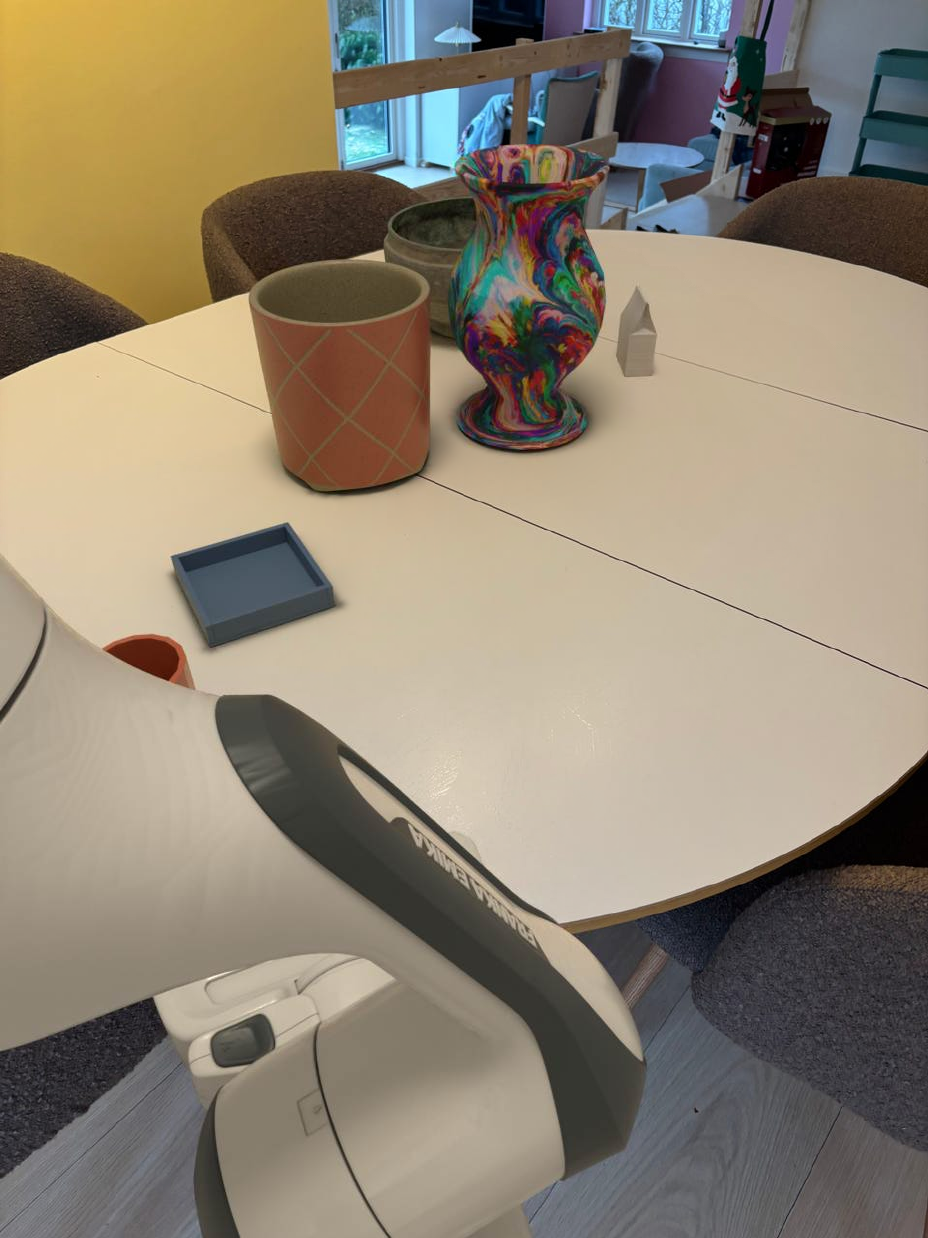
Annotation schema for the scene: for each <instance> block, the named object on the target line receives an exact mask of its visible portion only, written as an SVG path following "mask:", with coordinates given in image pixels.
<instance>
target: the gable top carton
mask: <svg viewBox="0 0 928 1238" xmlns="http://www.w3.org/2000/svg"><path fill="white" fill-rule="evenodd" d="M657 339H658V333H657V330H656V327H655V324H654V322H653V319H652V316H651V311H650V304H649V302H648V300H647V298H646V296H645V294H644V292H643V290H642V288H641V287H640V286H638V285H636V286H635V288H634V291H633V292H632V295H631V296H630V299H629V300H628V302H627V304H626V305H625V307H624V309H623V310H622V312H621V314H620V318H619V326H618V337H617V343H616V344H617V346H616V355H615V356H616V359H617V362H618V364H619V366H620V368H621V371H622V374H623V376H624V377H625V378H626V377H651V376H652V375H653V367H654V361H655V360H654V359H655V352H656V345H657Z"/></svg>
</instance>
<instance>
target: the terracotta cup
mask: <svg viewBox="0 0 928 1238" xmlns="http://www.w3.org/2000/svg"><path fill="white" fill-rule="evenodd" d="M101 649H103V650H104V651H106V652H107V653H109V654H111V655H112V656H114V657H116V658H118V659H120V660H121V661H123V662H125V663H127V664H129V665H131V666H133V667H135V668H137V669H140V670H142V671H144V672H146V673H148V674H151V675H153V676H156V677H158V678H161V679H164V680H166V681H169V682H172V683H174V684H177V685H180V686H184V687H187V688H190V689H193V690H196V686H195V682H194V679H193V675H192V672H191V669H190V664H189V661H188V658H187V655H186V653H185V650H184V648H183V646H182V645H181V644H180V643H179V642H177V641H175V640H174V639H173V638H171V637H170V636H164V635H160V634H155V633H146V634H133V635H129V636H127V637H124V638H120V639H117V640H115V641H112V642H111V643H109V644H107V645H105V646H104V647H102V648H101Z"/></svg>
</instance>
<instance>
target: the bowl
mask: <svg viewBox="0 0 928 1238" xmlns="http://www.w3.org/2000/svg"><path fill="white" fill-rule="evenodd" d="M475 224H476V204H475V201H474V199H473V197H472V196H459V197H446V198H441V199H435V200H434V199H433V200H428V201H425V202H421V203H418V204H413V205H410V206H408V207H405V208H403V209H400V210H399V211H398V212H396V213H395V214H393V215H392V216H391V217H390V218H389V220H388V222H387V231H388V233H386V235H385V237H384V239H383V256H384V262H387V263H392V264H396V265H400V266H403V267H406V268H408V269H411V270H413V271H415V272H417V273H419V274H420V275H422V276H423V277H424V278H425V279H426V280H427V282H428V284H429V287H430V330H431V331H433V332H435V333H437V334H439V335H441V336H444V337H447V338H452V339H455V338H454V335H453V332H452V328H451V325H450V321H449V310H448V300H447V297H448V291H449V285H450V278H451V272H452V269H453V267H454V265H455V264H456V262H457V260H458V258H459V256H460V254H461V252H462V250H463V248H464V247H465V245H466V243H467V241H468V238H469V236H470V234H471V232H472V230H473V228H474V226H475Z"/></svg>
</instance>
